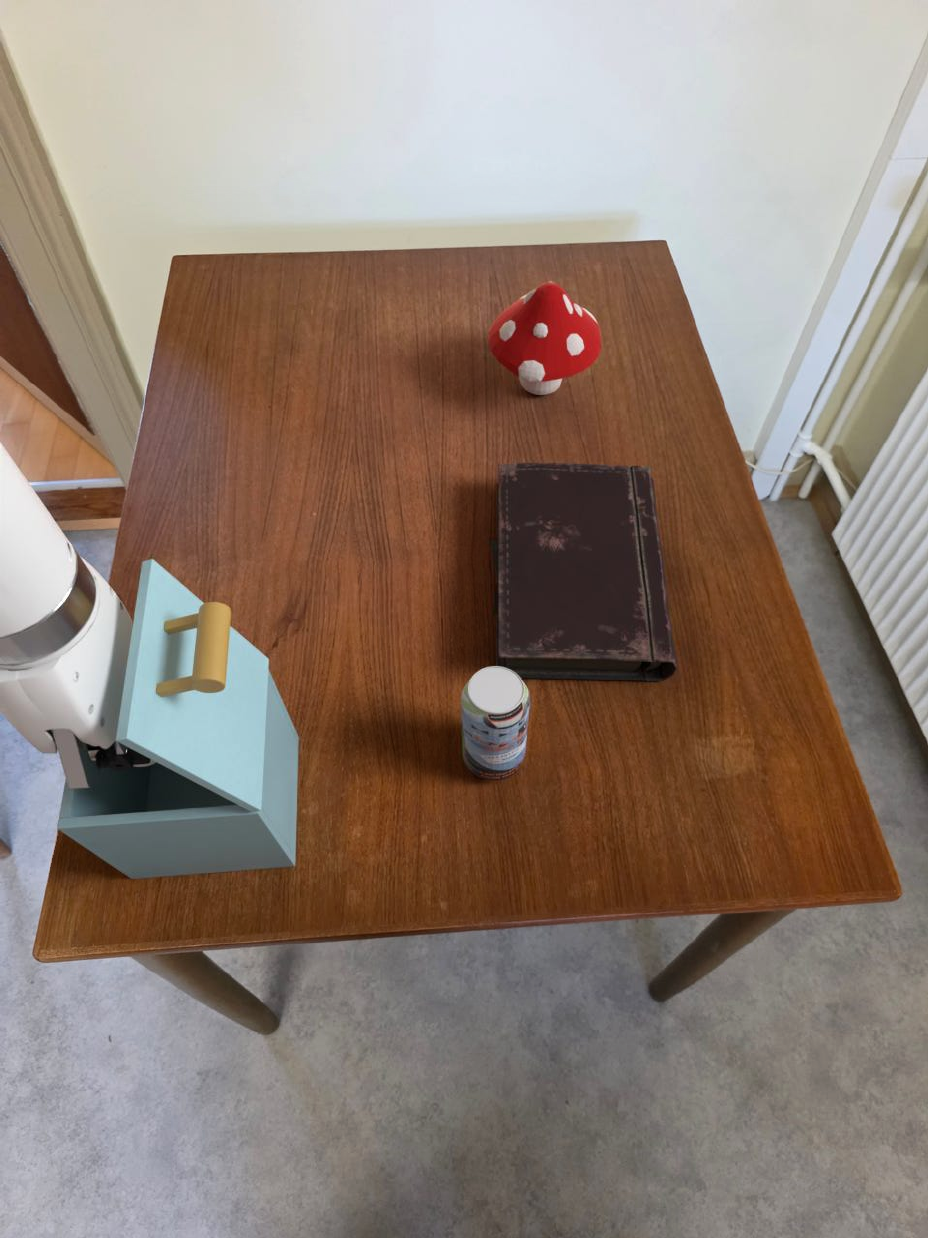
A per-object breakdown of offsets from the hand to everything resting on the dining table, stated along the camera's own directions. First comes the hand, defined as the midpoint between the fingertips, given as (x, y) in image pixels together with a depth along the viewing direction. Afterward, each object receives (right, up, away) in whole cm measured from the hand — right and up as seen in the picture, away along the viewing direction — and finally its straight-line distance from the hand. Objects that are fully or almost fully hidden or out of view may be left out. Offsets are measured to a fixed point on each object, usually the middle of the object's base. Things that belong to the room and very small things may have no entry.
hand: (133, 727), depth 60 cm
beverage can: (+27, -5, +19) cm, 34 cm away
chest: (+1, -9, +16) cm, 19 cm away
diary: (+37, +12, +30) cm, 49 cm away
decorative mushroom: (+34, +38, +45) cm, 68 cm away
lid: (+6, +3, -4) cm, 8 cm away
